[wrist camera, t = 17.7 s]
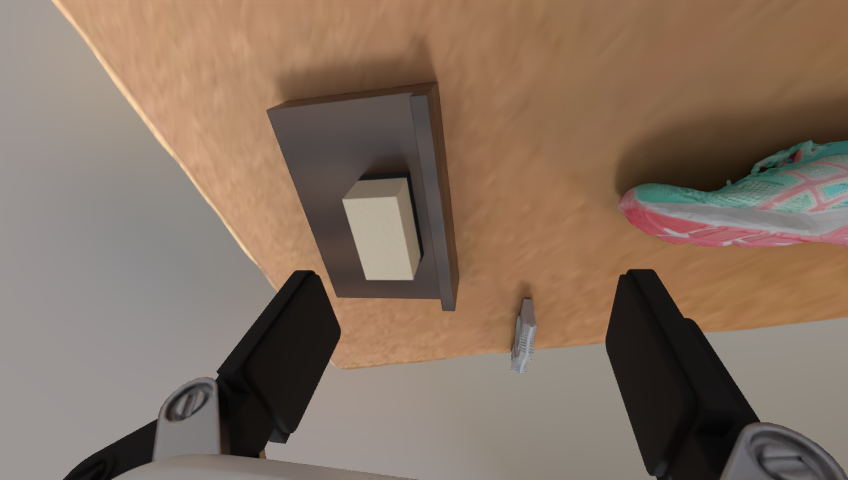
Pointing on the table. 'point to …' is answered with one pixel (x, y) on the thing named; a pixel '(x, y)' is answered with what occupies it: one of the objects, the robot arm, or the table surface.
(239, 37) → the table surface
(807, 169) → the athletic shoe
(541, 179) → the table surface
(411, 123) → the shelf
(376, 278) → the tall beige carton
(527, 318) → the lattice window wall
